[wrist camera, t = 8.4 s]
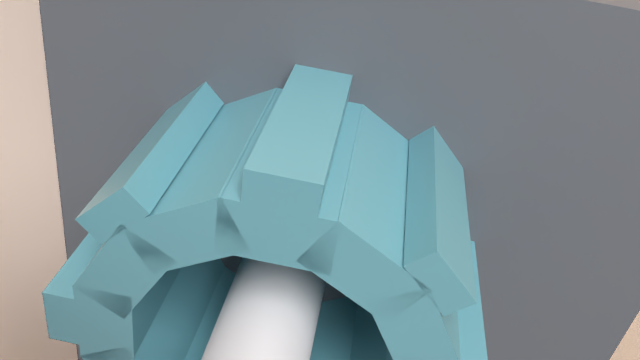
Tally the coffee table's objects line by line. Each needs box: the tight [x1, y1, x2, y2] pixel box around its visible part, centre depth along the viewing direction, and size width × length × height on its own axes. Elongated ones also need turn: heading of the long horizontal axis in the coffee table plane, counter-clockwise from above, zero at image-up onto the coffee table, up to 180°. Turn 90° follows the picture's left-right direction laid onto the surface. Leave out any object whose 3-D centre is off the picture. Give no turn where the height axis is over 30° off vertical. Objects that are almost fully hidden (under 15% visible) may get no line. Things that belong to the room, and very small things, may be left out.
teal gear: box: [42, 64, 488, 360], centre depth 11 cm, size 7×7×4 cm
